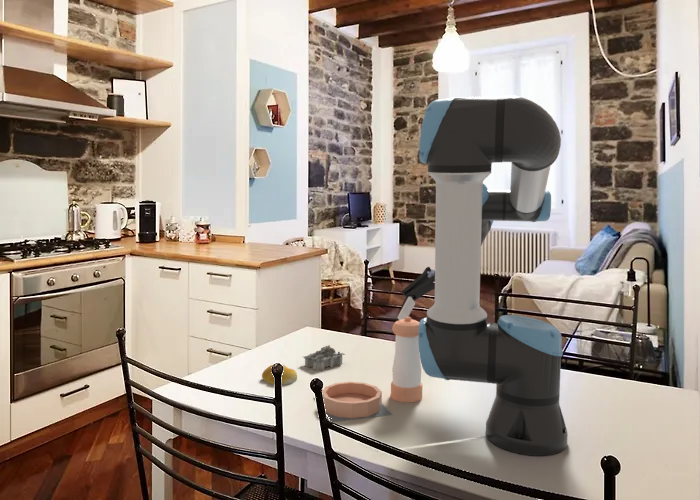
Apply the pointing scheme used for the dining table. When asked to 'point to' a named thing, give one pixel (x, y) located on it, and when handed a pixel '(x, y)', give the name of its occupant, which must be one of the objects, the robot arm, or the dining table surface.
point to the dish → (352, 399)
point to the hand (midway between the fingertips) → (423, 325)
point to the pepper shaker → (406, 362)
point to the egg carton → (323, 358)
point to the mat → (382, 412)
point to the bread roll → (287, 377)
